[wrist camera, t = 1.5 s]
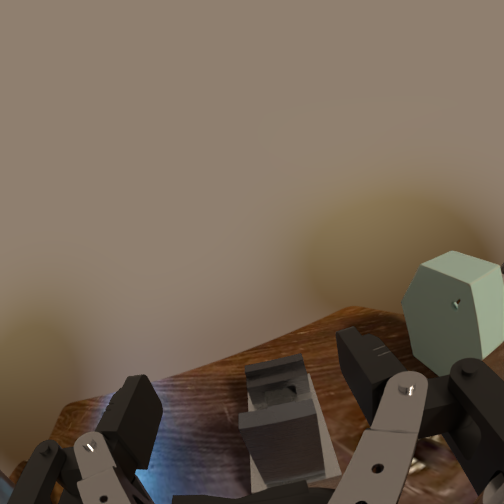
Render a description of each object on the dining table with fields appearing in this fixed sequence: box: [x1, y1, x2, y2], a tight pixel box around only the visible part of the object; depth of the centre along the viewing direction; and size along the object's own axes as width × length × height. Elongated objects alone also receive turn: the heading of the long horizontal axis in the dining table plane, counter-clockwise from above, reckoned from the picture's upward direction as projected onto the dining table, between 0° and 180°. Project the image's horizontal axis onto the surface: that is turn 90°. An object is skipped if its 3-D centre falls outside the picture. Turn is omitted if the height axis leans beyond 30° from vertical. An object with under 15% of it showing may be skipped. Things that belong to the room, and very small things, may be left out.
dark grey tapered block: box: [239, 398, 325, 485], centre depth 25 cm, size 11×6×10 cm, turn 2°
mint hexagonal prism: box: [401, 251, 504, 377], centre depth 35 cm, size 17×8×21 cm
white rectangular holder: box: [245, 353, 342, 494], centre depth 30 cm, size 18×9×10 cm, turn 2°
